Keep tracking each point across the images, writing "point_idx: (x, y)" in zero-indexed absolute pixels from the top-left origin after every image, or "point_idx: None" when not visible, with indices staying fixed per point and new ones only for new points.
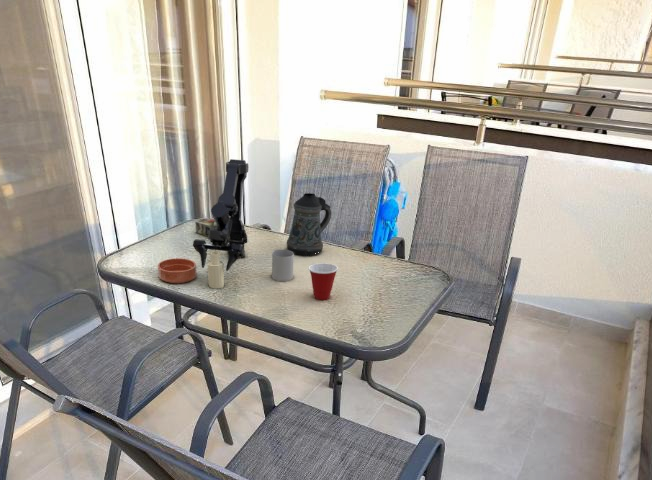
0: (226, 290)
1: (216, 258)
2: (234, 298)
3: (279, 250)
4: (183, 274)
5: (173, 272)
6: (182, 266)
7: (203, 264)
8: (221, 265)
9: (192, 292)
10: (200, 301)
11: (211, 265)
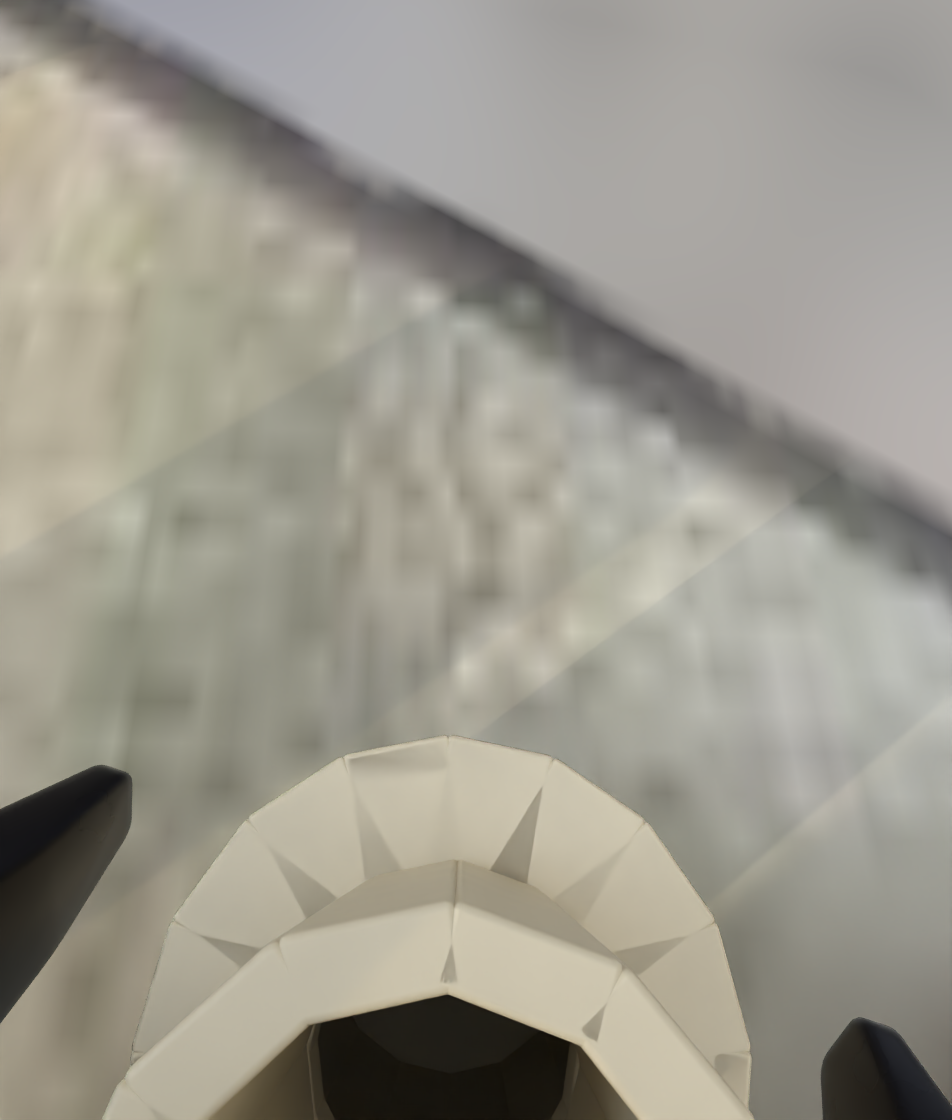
0: (286, 707)
1: (356, 896)
2: (196, 428)
3: None
4: None
5: None
6: None
7: (884, 1111)
8: (222, 851)
9: (818, 640)
10: (656, 359)
11: (578, 787)
